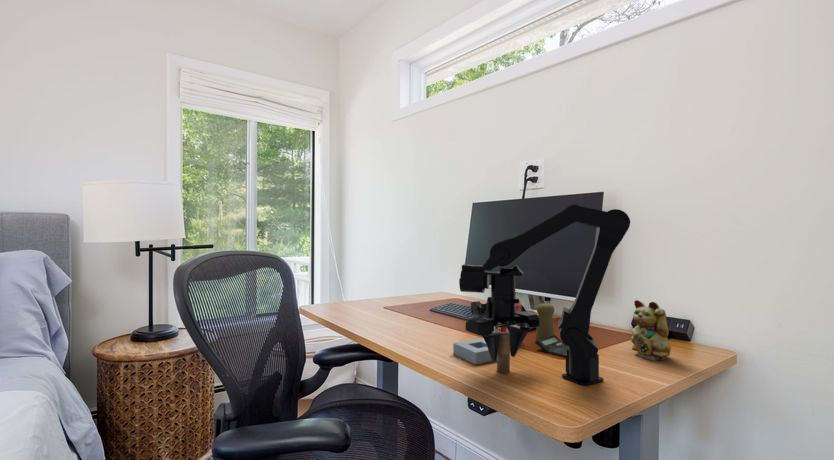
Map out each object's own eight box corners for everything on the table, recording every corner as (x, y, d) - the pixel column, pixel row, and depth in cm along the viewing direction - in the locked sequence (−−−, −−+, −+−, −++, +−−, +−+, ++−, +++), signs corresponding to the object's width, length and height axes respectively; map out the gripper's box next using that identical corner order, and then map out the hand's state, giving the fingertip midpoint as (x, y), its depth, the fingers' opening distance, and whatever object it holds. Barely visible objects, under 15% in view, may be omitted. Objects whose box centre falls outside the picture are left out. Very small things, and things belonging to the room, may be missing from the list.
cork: (542, 342, 121) (542, 306, 121) (531, 337, 127) (531, 302, 127) (559, 341, 123) (559, 305, 123) (548, 336, 129) (548, 301, 129)
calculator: (573, 361, 105) (573, 349, 105) (534, 350, 114) (534, 340, 114) (591, 353, 111) (591, 343, 111) (553, 344, 120) (553, 334, 120)
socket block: (506, 358, 107) (505, 346, 107) (475, 364, 102) (475, 352, 102) (482, 348, 116) (482, 338, 116) (453, 353, 111) (453, 342, 111)
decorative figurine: (625, 354, 110) (625, 299, 110) (642, 349, 114) (641, 296, 114) (662, 364, 102) (662, 304, 102) (679, 358, 106) (678, 301, 106)
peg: (512, 371, 97) (512, 334, 97) (502, 373, 95) (502, 335, 95) (504, 368, 99) (503, 331, 99) (494, 370, 98) (494, 333, 98)
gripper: (509, 286, 109) (510, 344, 109) (452, 292, 100) (452, 355, 100) (540, 292, 99) (541, 355, 99) (480, 298, 90) (480, 368, 90)
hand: (503, 358), depth 97 cm, fingers open, 6 cm apart
